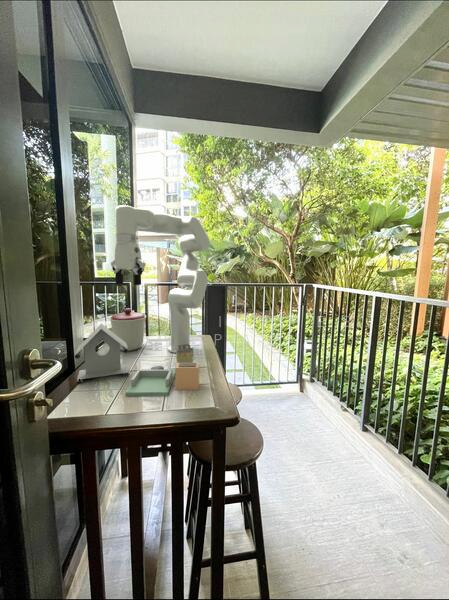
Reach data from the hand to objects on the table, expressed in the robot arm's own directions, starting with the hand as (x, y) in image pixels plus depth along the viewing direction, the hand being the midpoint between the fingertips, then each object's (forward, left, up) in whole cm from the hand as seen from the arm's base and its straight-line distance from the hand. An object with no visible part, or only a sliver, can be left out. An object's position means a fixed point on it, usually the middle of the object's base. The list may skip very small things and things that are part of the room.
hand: (128, 284), depth 106 cm
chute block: (+13, +24, -36) cm, 45 cm away
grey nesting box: (+3, -10, -36) cm, 38 cm away
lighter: (-5, +21, -36) cm, 42 cm away
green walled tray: (+10, +11, -36) cm, 39 cm away
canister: (-32, -11, -36) cm, 49 cm away
